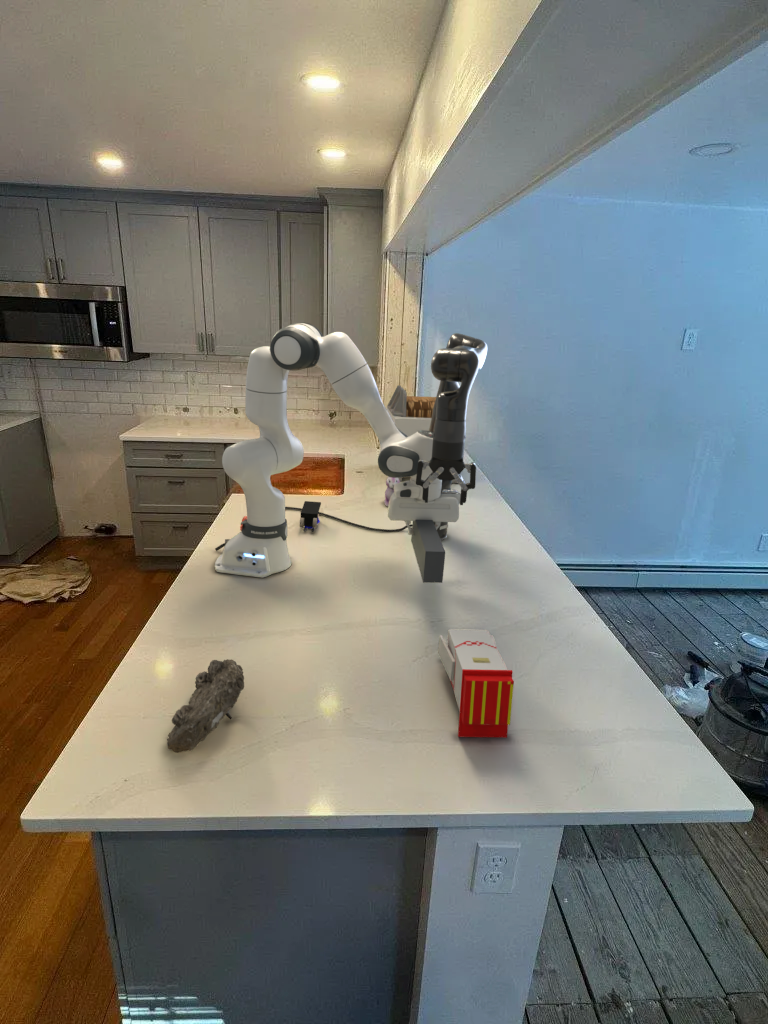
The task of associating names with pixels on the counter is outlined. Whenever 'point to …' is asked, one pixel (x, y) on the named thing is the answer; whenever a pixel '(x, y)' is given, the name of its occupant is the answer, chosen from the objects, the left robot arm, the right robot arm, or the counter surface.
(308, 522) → the figurine character
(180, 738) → the fossil
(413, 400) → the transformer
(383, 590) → the counter surface
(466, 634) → the toy
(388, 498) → the figurine
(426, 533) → the bar
